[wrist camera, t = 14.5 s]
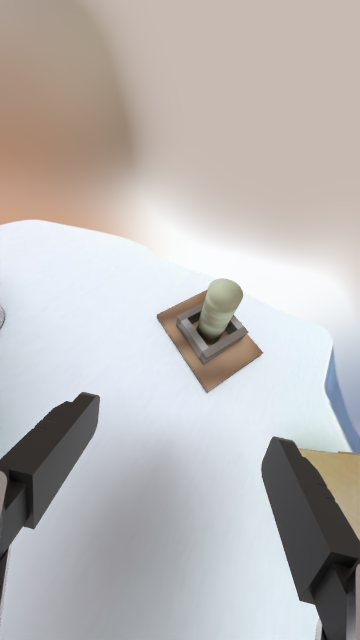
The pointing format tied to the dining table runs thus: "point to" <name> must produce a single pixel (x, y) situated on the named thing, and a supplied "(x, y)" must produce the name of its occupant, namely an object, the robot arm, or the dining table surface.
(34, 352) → the dining table surface
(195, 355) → the jig
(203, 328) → the pale green cylinder
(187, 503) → the dining table surface
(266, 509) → the dining table surface
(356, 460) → the toy refrigerator
